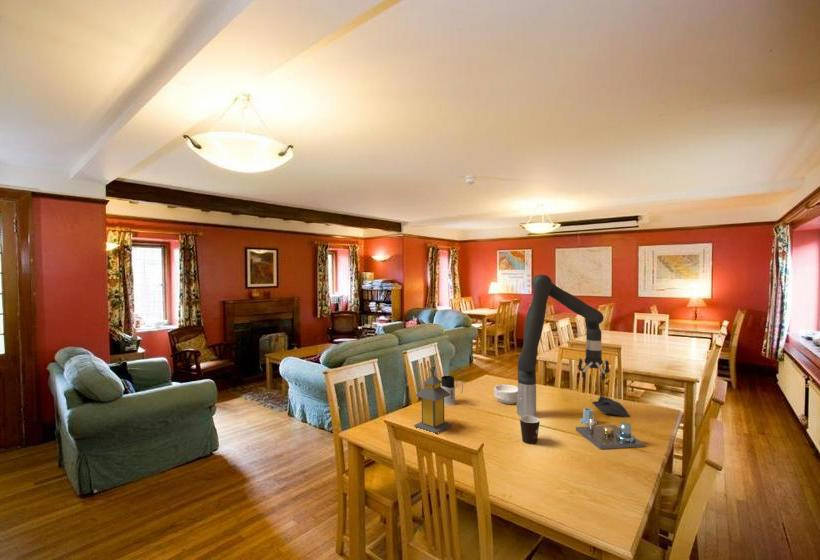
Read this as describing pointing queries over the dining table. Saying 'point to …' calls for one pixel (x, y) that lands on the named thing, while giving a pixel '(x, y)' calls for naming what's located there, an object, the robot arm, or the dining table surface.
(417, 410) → the dining table surface
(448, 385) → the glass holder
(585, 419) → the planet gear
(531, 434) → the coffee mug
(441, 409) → the lantern
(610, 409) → the dark slate chunk
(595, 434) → the gear carrier
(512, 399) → the paper bowls
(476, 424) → the dining table surface
